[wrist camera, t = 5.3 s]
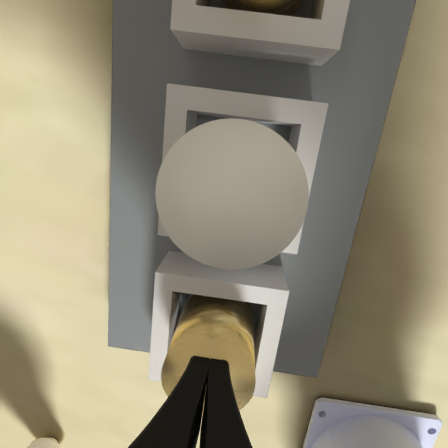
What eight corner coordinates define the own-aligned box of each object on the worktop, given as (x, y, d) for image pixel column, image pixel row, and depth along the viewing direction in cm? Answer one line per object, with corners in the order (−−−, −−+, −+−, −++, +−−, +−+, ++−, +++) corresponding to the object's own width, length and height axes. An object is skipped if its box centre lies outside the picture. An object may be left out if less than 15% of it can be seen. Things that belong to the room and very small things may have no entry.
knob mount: (309, 353, 19) (328, 417, 15) (121, 325, 19) (86, 380, 15) (417, -85, 13) (507, -198, 8) (134, -115, 13) (78, -239, 9)
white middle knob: (276, 230, 11) (293, 279, 8) (182, 217, 11) (151, 259, 8) (294, 131, 10) (323, 129, 7) (191, 118, 10) (160, 108, 7)
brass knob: (247, 353, 16) (248, 424, 12) (179, 343, 16) (158, 409, 12) (258, 292, 15) (263, 347, 11) (184, 281, 15) (164, 333, 11)
